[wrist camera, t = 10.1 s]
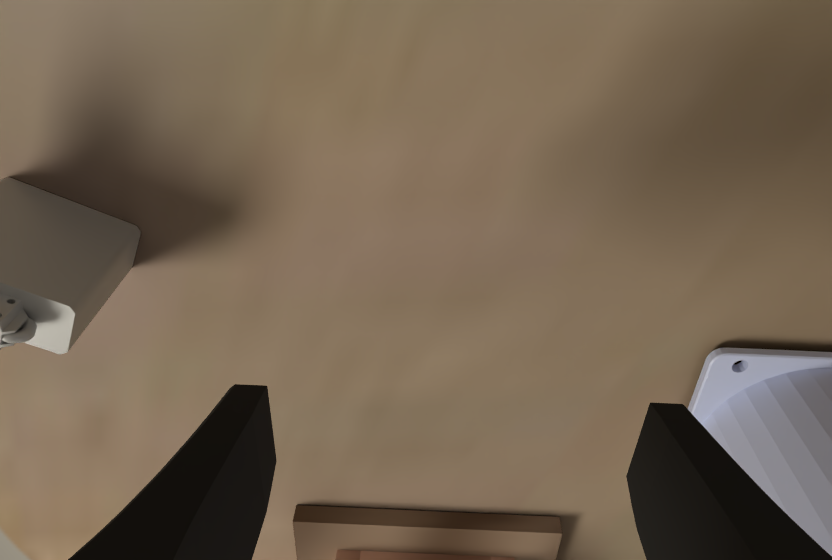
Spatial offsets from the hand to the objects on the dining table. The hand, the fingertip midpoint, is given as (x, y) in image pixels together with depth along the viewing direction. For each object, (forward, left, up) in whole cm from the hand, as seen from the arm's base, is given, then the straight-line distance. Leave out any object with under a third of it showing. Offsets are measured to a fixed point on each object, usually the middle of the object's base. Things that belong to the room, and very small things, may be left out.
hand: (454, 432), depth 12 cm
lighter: (+13, 0, -9) cm, 16 cm away
